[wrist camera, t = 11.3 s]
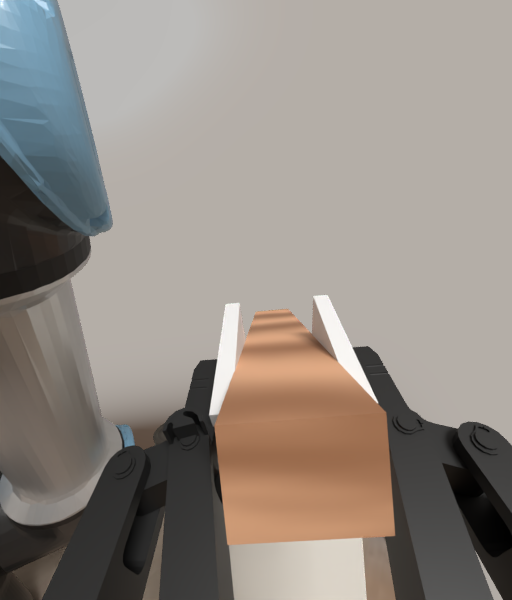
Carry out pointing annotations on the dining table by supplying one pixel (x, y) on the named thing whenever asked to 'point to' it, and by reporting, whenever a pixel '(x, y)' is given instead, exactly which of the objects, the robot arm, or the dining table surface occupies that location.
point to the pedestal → (299, 570)
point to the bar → (300, 443)
